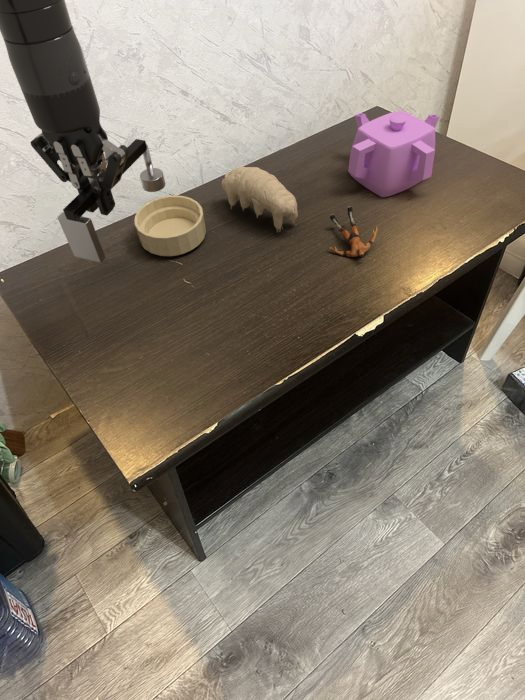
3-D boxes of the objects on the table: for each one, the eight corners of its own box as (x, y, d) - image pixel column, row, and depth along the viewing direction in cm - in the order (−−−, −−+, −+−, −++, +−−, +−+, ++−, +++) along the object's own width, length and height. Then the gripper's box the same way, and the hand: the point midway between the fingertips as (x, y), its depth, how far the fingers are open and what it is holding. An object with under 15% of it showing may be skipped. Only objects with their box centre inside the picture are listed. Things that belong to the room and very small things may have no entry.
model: (238, 192, 104) (233, 147, 96) (305, 225, 96) (306, 179, 89) (216, 208, 101) (209, 163, 93) (283, 243, 94) (282, 197, 86)
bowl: (155, 268, 91) (148, 246, 87) (131, 230, 98) (125, 209, 94) (217, 243, 94) (214, 222, 90) (190, 209, 101) (186, 188, 98)
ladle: (147, 177, 81) (135, 129, 75) (171, 181, 80) (161, 133, 74) (74, 256, 69) (52, 207, 63) (101, 263, 68) (82, 214, 62)
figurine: (363, 199, 92) (387, 243, 86) (365, 208, 94) (388, 251, 88) (317, 220, 93) (337, 265, 88) (319, 228, 95) (339, 272, 90)
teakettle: (345, 196, 101) (350, 138, 92) (351, 151, 112) (356, 95, 102) (431, 202, 99) (446, 143, 89) (429, 155, 109) (443, 97, 99)
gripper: (125, 69, 55) (158, 203, 69) (25, 57, 59) (75, 186, 73) (86, 100, 51) (129, 236, 65) (-18, 84, 55) (43, 216, 68)
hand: (100, 209), depth 69 cm, fingers closed on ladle
